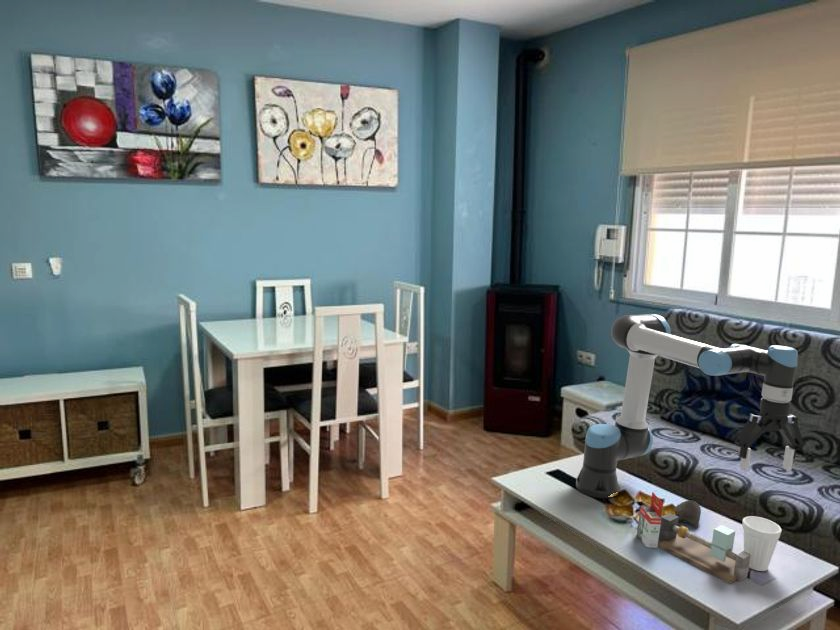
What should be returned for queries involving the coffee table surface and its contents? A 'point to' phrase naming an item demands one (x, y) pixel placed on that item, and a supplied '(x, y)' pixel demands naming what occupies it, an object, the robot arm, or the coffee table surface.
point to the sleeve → (722, 542)
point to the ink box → (650, 522)
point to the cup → (760, 541)
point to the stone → (688, 512)
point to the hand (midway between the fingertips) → (765, 468)
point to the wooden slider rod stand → (700, 551)
